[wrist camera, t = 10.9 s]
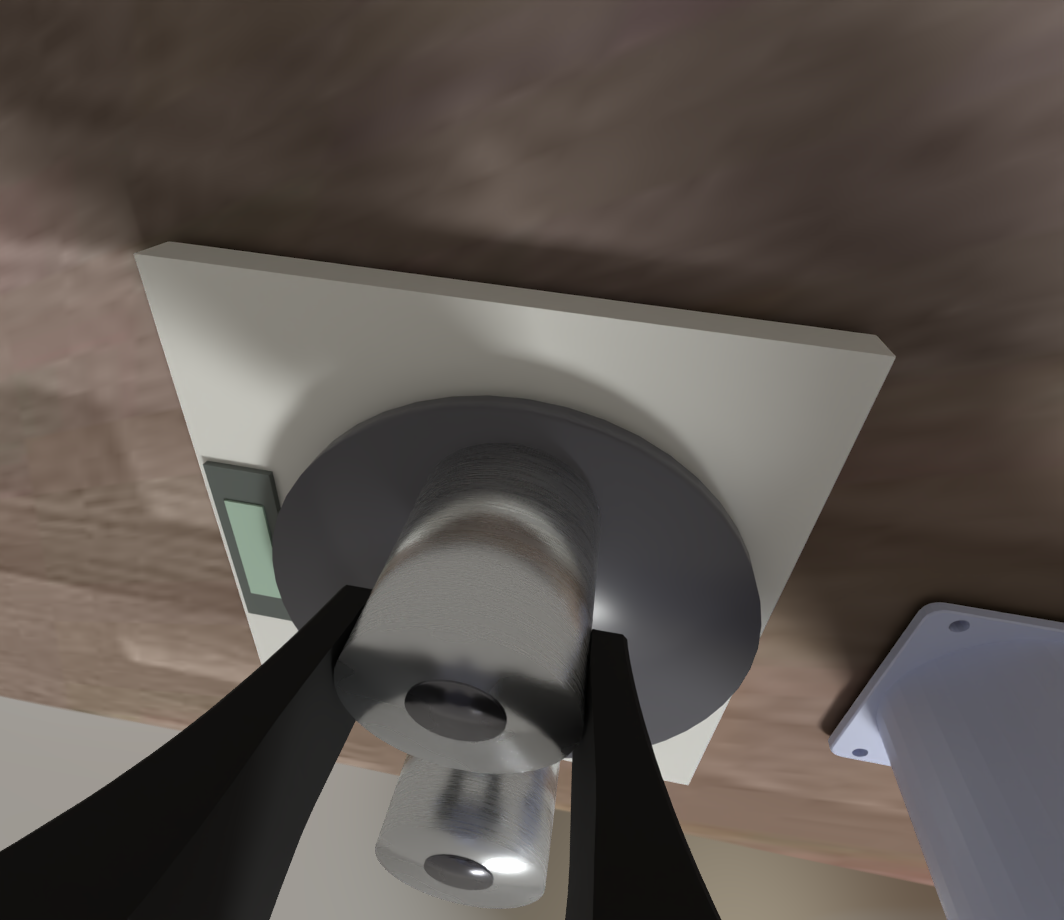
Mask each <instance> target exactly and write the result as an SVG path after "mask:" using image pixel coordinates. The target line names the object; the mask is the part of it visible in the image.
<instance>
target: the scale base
mask: <svg viewBox="0 0 1064 920" xmlns="http://www.w3.org/2000/svg"><path fill="white" fill-rule="evenodd" d="M134 257H135V260H136V263H137V267H138V270H139V273H140V276H141V279H142V283H143V286H144V289H145V292H146V296H147V299H148V302H149V305H150V308H151V312H152V315H153V318H154V321H155V324H156V328H157V331H158V334H159V337H160V340H161V344H162V347H163V350H164V353H165V356H166V360H167V363H168V366H169V369H170V372H171V376H172V379H173V382H174V385H175V389H176V392H177V395H178V398H179V401H180V405H181V408H182V411H183V414H184V417H185V421H186V424H187V427H188V430H189V433H190V437H191V440H192V443H193V446H194V449H195V453H196V456H197V459H198V462H199V466H200V469H201V472H202V475H203V478H204V482H205V485H206V488H207V491H208V494H209V498H210V501H211V504H212V507H213V510H214V514H215V517H216V520H217V523H218V526H219V530H220V533H221V536H222V539H223V542H224V546H225V549H226V552H227V555H228V559H229V562H230V565H231V568H232V571H233V575H234V578H235V581H236V584H237V587H238V591H239V594H240V597H241V600H242V603H243V607H244V610H245V613H246V616H247V619H248V623H249V626H250V629H251V632H252V635H253V639H254V642H255V645H256V648H257V652H258V655H259V658H260V661H261V664H263V663H264V662H265V661H267V660H268V659H269V658H270V657H271V656H272V655H273V654H274V653H275V652H276V651H277V650H279V649H280V648H281V647H282V646H283V645H284V644H285V643H286V642H287V641H288V640H289V639H290V638H291V637H293V636H294V635H295V634H296V633H297V632H298V630H297V628H296V627H295V625H294V624H293V622H292V620H291V618H290V616H289V614H288V612H287V610H286V608H285V606H284V604H283V602H282V599H281V596H280V593H279V590H278V587H277V584H276V580H275V574H274V568H273V562H272V544H273V534H274V530H275V525H276V520H277V516H278V514H279V512H280V509H281V507H282V505H283V502H284V500H285V498H286V496H287V494H288V493H289V491H290V490H291V488H292V487H293V485H294V484H295V483H296V481H297V480H298V478H299V477H300V475H301V474H302V473H303V472H304V471H305V470H306V468H307V467H308V466H309V465H310V464H311V463H312V461H313V460H314V459H315V458H316V457H317V456H318V455H319V454H320V453H321V452H322V451H323V450H324V449H325V448H326V447H327V446H328V445H329V444H330V443H331V442H332V441H333V440H335V439H336V438H338V437H339V436H341V435H342V434H344V433H345V432H347V431H348V430H349V429H351V428H352V427H354V426H355V425H357V424H359V423H361V422H363V421H365V420H367V419H370V418H372V417H374V416H376V415H378V414H380V413H382V412H385V411H388V410H391V409H395V408H398V407H401V406H405V405H408V404H411V403H415V402H419V401H426V400H432V399H439V398H445V397H451V396H485V395H490V396H501V397H512V398H523V399H531V400H535V401H540V402H545V403H550V404H555V405H559V406H564V407H568V408H571V409H574V410H577V411H580V412H583V413H586V414H589V415H592V416H595V417H598V418H601V419H604V420H606V421H608V422H610V423H613V424H615V425H617V426H619V427H621V428H623V429H625V430H628V431H630V432H632V433H634V434H636V435H638V436H640V437H642V438H643V439H645V440H646V441H648V442H650V443H651V444H653V445H654V446H656V447H658V448H659V449H661V450H662V451H664V452H666V453H667V454H669V455H670V456H672V457H673V458H674V459H675V460H677V461H678V462H679V463H680V464H681V465H683V466H684V467H685V468H686V469H688V470H689V471H690V472H691V473H692V474H694V475H695V476H696V477H697V478H698V479H699V480H700V481H701V482H702V483H703V484H704V485H705V486H706V487H707V488H708V489H709V491H710V492H711V493H712V494H713V495H714V496H715V497H716V498H717V499H718V500H719V501H720V503H721V504H722V506H723V507H724V509H725V510H726V512H727V513H728V514H729V516H730V517H731V519H732V520H733V522H734V523H735V525H736V526H737V528H738V530H739V532H740V535H741V537H742V539H743V541H744V543H745V546H746V548H747V550H748V552H749V556H750V560H751V564H752V568H753V572H754V576H755V580H756V584H757V588H758V593H759V597H760V604H761V625H762V626H761V632H760V636H761V634H762V632H763V630H764V628H765V626H766V624H767V622H768V620H769V618H770V616H771V614H772V612H773V609H774V607H775V605H776V603H777V601H778V599H779V597H780V595H781V593H782V591H783V589H784V587H785V585H786V583H787V581H788V579H789V576H790V574H791V572H792V570H793V568H794V566H795V564H796V562H797V560H798V558H799V556H800V554H801V552H802V550H803V548H804V546H805V544H806V541H807V539H808V537H809V535H810V533H811V531H812V529H813V527H814V525H815V523H816V521H817V519H818V517H819V515H820V513H821V511H822V508H823V506H824V504H825V502H826V500H827V498H828V496H829V494H830V492H831V490H832V488H833V486H834V484H835V482H836V480H837V478H838V476H839V473H840V471H841V469H842V467H843V465H844V463H845V461H846V459H847V457H848V455H849V453H850V451H851V449H852V447H853V445H854V443H855V440H856V438H857V436H858V434H859V432H860V430H861V428H862V426H863V424H864V422H865V420H866V418H867V416H868V414H869V412H870V410H871V408H872V405H873V403H874V401H875V399H876V397H877V395H878V393H879V391H880V389H881V387H882V385H883V383H884V381H885V379H886V377H887V375H888V373H889V370H890V368H891V366H892V364H893V362H894V360H895V358H896V356H895V355H894V354H893V353H892V352H891V351H890V350H889V348H888V347H887V346H886V345H885V344H884V343H883V342H882V341H881V340H880V339H879V337H878V336H877V335H872V334H864V333H857V332H849V331H842V330H834V329H827V328H819V327H812V326H804V325H797V324H789V323H781V322H774V321H766V320H759V319H751V318H744V317H736V316H729V315H721V314H714V313H706V312H698V311H691V310H683V309H676V308H668V307H661V306H653V305H646V304H638V303H631V302H623V301H616V300H608V299H600V298H593V297H585V296H578V295H570V294H563V293H555V292H548V291H540V290H533V289H525V288H518V287H510V286H502V285H495V284H487V283H480V282H472V281H465V280H457V279H450V278H442V277H435V276H427V275H419V274H412V273H404V272H397V271H389V270H382V269H374V268H367V267H359V266H352V265H344V264H337V263H329V262H321V261H314V260H306V259H299V258H291V257H284V256H276V255H269V254H261V253H254V252H246V251H239V250H231V249H223V248H216V247H208V246H201V245H193V244H186V243H178V242H171V241H168V242H165V243H162V244H159V245H157V246H154V247H151V248H148V249H145V250H142V251H139V252H136V253H134ZM730 698H731V697H730ZM730 698H729V699H728V700H727V701H726V703H725V704H724V705H723V706H721V707H720V708H719V709H718V710H716V711H715V712H714V713H713V714H712V715H710V716H709V717H708V718H707V719H705V720H704V721H702V722H700V723H699V724H697V725H695V726H694V727H692V728H691V729H689V730H687V731H685V732H683V733H681V734H679V735H677V736H674V737H672V738H670V739H668V740H666V741H663V742H660V743H657V744H654V745H652V747H653V751H654V754H655V757H656V760H657V763H658V766H659V769H660V772H661V775H662V778H663V780H665V781H670V782H675V783H680V784H685V785H689V783H690V780H691V778H692V776H693V774H694V772H695V770H696V768H697V766H698V764H699V762H700V760H701V758H702V756H703V754H704V752H705V750H706V747H707V745H708V743H709V741H710V739H711V737H712V735H713V733H714V731H715V729H716V727H717V725H718V723H719V721H720V719H721V717H722V715H723V712H724V710H725V708H726V706H727V704H728V702H729V700H730ZM562 760H566V761H571V762H572V758H564V759H562Z"/></svg>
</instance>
